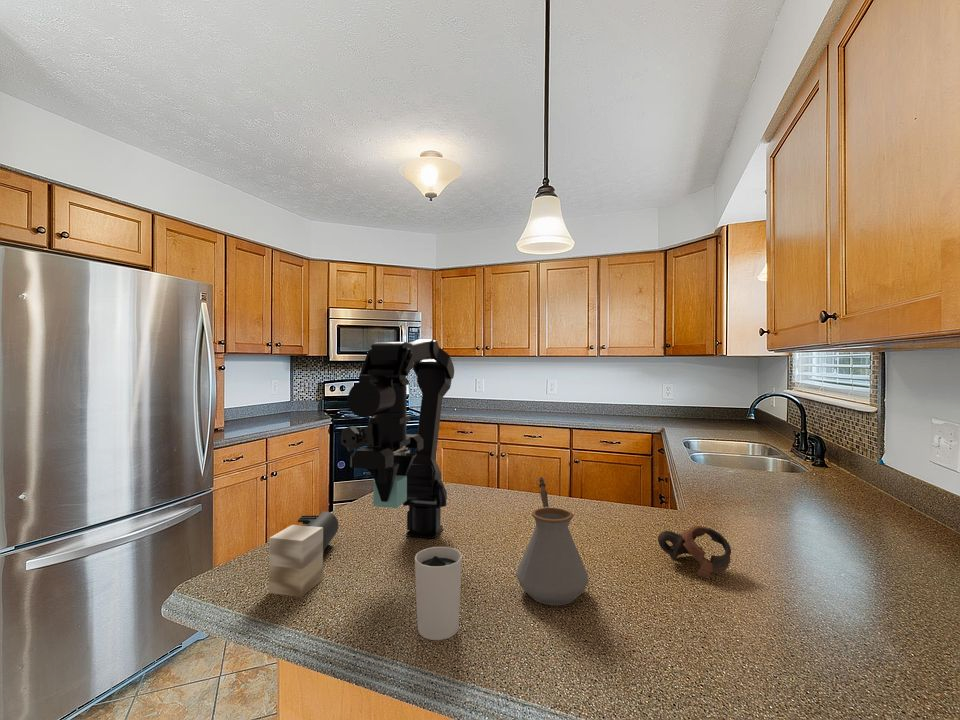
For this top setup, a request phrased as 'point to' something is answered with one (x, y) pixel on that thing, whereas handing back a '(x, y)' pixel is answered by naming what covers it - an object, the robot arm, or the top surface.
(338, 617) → the top surface
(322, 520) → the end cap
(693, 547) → the brown curved piece
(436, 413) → the robot arm
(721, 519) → the top surface
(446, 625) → the white cup
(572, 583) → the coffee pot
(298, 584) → the tower bottom block
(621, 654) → the top surface
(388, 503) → the teal block
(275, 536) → the tower middle block
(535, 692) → the top surface
